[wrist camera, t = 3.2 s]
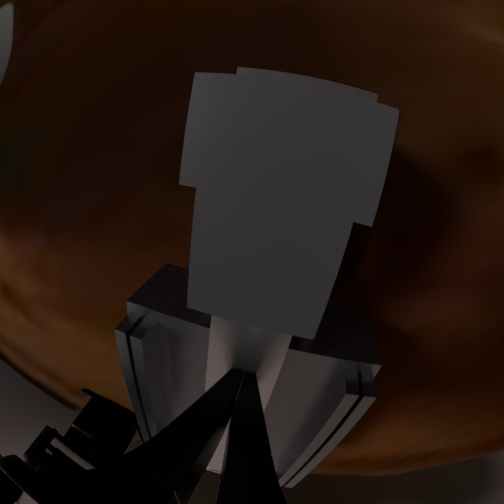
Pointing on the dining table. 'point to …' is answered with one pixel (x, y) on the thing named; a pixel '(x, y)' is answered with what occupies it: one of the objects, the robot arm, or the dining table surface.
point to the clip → (277, 194)
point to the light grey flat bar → (243, 360)
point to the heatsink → (285, 389)
